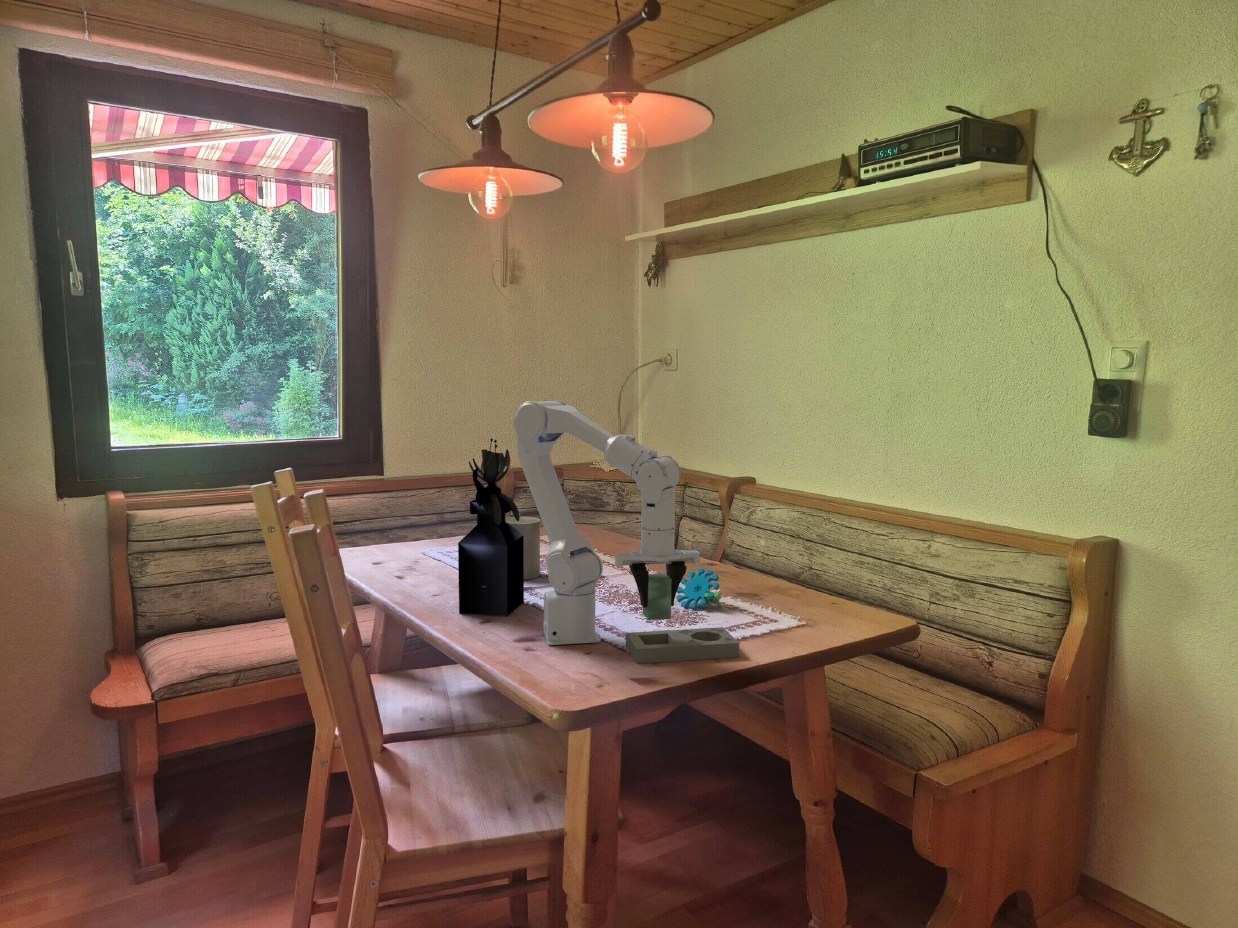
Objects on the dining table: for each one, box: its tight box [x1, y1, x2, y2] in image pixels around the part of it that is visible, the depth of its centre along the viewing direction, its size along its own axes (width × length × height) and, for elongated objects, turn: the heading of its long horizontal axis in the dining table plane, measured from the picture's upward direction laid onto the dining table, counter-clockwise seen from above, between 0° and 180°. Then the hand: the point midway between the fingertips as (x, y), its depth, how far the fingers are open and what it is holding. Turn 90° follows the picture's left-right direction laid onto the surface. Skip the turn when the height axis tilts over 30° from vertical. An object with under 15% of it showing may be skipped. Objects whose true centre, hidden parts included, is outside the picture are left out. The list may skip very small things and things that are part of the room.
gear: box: [675, 567, 723, 610], centre depth 174 cm, size 11×6×10 cm
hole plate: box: [625, 626, 740, 665], centre depth 144 cm, size 18×9×2 cm, turn 102°
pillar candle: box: [505, 513, 541, 581], centre depth 198 cm, size 10×10×15 cm
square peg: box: [642, 573, 672, 621], centre depth 143 cm, size 4×4×7 cm
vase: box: [457, 438, 525, 618], centre depth 168 cm, size 14×12×35 cm
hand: (657, 605), depth 143 cm, fingers closed on square peg, 4 cm apart
